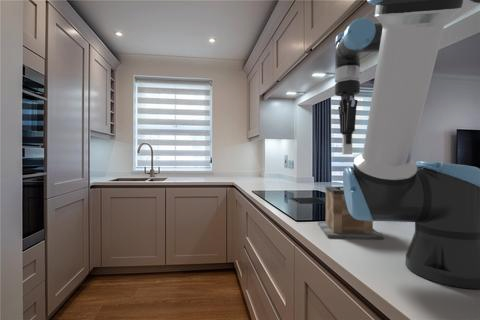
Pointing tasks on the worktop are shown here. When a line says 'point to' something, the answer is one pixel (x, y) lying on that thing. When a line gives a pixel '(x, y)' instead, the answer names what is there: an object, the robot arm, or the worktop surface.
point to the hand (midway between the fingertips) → (347, 154)
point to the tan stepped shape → (344, 219)
